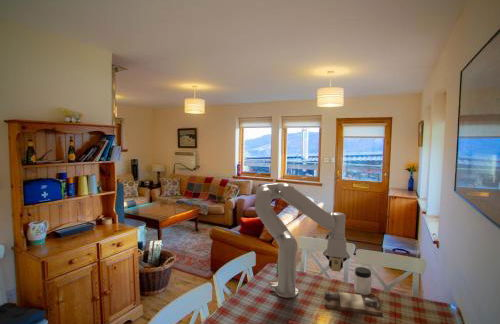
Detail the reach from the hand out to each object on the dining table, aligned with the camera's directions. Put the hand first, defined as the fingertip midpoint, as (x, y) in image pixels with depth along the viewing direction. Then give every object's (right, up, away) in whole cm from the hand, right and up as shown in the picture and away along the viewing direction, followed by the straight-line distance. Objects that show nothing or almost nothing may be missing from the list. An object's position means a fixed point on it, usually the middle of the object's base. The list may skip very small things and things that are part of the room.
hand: (335, 268), depth 158 cm
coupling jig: (+4, -13, -13) cm, 19 cm away
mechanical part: (-24, -11, +25) cm, 37 cm away
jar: (+15, -13, 0) cm, 20 cm away
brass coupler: (0, -1, 0) cm, 1 cm away
